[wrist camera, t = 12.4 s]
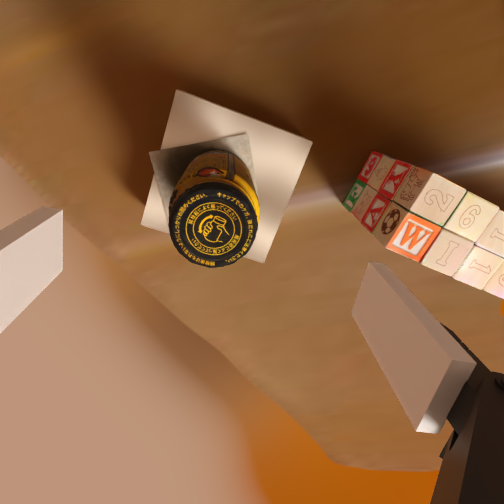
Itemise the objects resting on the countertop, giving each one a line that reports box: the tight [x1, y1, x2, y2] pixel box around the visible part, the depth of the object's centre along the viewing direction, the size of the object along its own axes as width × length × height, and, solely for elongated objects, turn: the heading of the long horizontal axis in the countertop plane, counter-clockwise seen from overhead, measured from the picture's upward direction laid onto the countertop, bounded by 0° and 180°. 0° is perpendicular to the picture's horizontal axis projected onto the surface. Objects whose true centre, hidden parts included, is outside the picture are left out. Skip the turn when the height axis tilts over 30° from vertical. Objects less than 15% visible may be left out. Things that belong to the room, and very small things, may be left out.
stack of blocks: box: [343, 151, 504, 299], centre depth 34 cm, size 21×6×12 cm, turn 65°
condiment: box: [149, 134, 262, 268], centre depth 26 cm, size 7×8×12 cm
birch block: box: [141, 89, 313, 263], centre depth 34 cm, size 12×12×5 cm
